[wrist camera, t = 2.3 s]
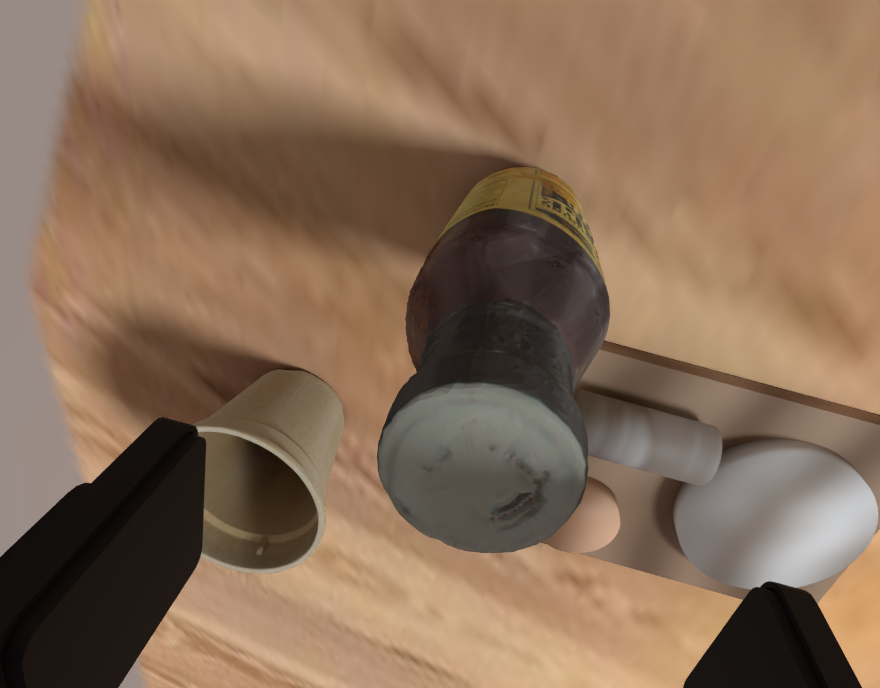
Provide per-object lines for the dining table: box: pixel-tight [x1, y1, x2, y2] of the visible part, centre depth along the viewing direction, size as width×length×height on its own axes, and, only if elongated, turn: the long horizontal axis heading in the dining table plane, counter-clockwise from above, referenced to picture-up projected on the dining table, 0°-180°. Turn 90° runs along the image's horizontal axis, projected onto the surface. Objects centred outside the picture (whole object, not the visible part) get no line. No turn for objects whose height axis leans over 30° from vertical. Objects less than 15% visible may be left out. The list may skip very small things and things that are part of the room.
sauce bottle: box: [377, 167, 610, 553], centre depth 19 cm, size 6×6×20 cm
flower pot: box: [191, 369, 344, 574], centre depth 32 cm, size 9×9×9 cm
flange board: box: [540, 341, 880, 603], centre depth 32 cm, size 20×14×4 cm
